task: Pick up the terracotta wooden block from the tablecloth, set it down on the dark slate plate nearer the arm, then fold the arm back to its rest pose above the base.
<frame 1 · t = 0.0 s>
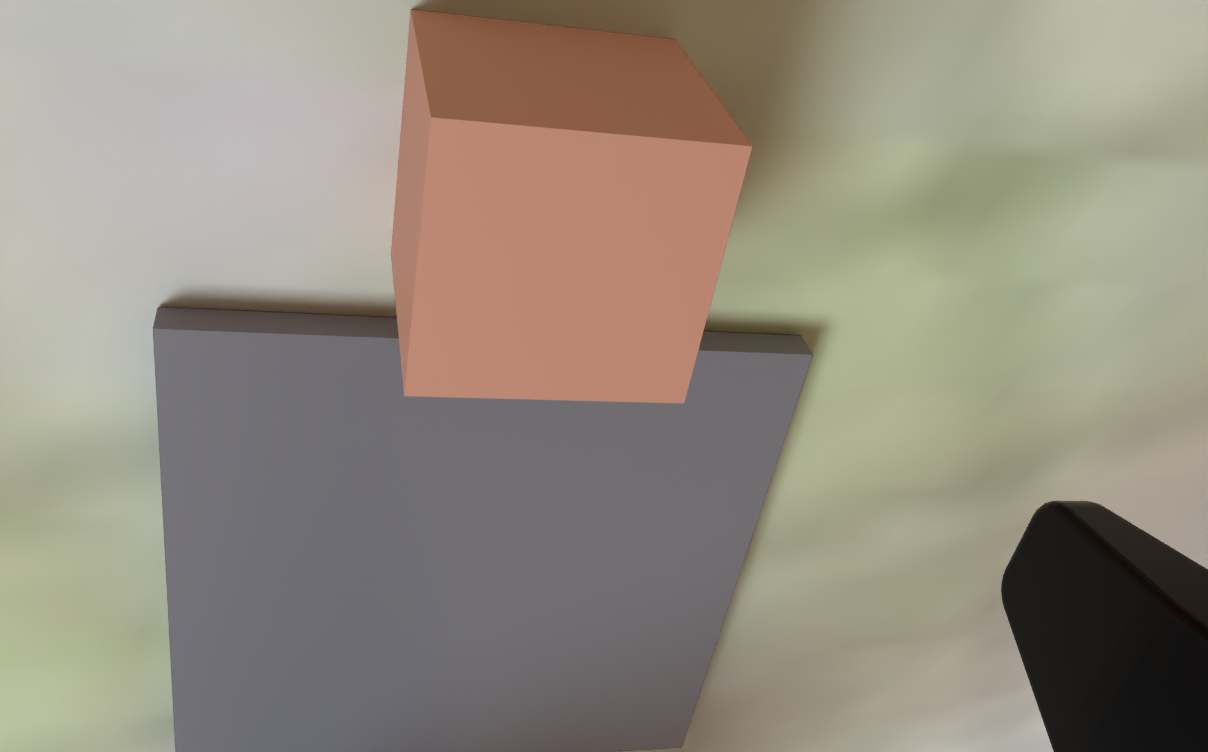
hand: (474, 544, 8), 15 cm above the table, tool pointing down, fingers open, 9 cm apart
terracotta block: (527, 148, 22), on the table
slate plate: (468, 558, 28), on the table
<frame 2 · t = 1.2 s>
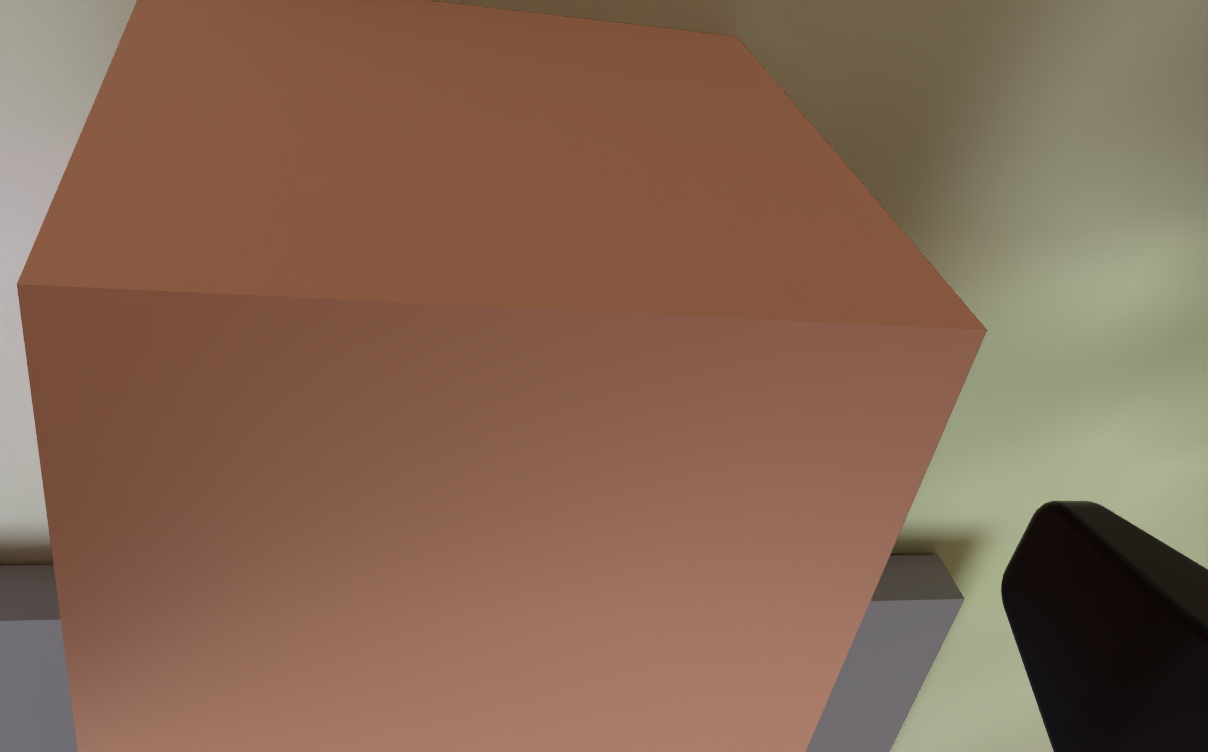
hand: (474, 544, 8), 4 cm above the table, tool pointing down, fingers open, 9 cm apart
terracotta block: (436, 255, 11), on the table
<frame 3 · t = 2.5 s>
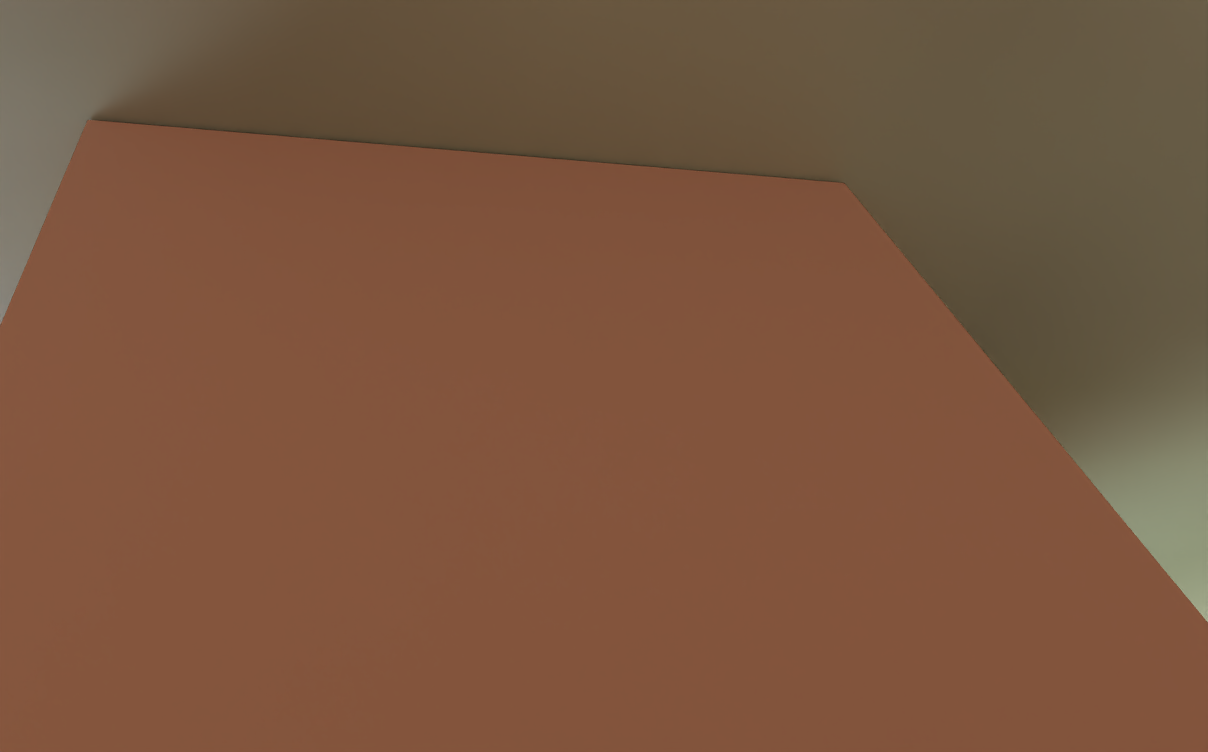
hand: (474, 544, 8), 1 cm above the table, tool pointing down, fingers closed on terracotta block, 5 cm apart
terracotta block: (459, 450, 9), on the table, touching gripper
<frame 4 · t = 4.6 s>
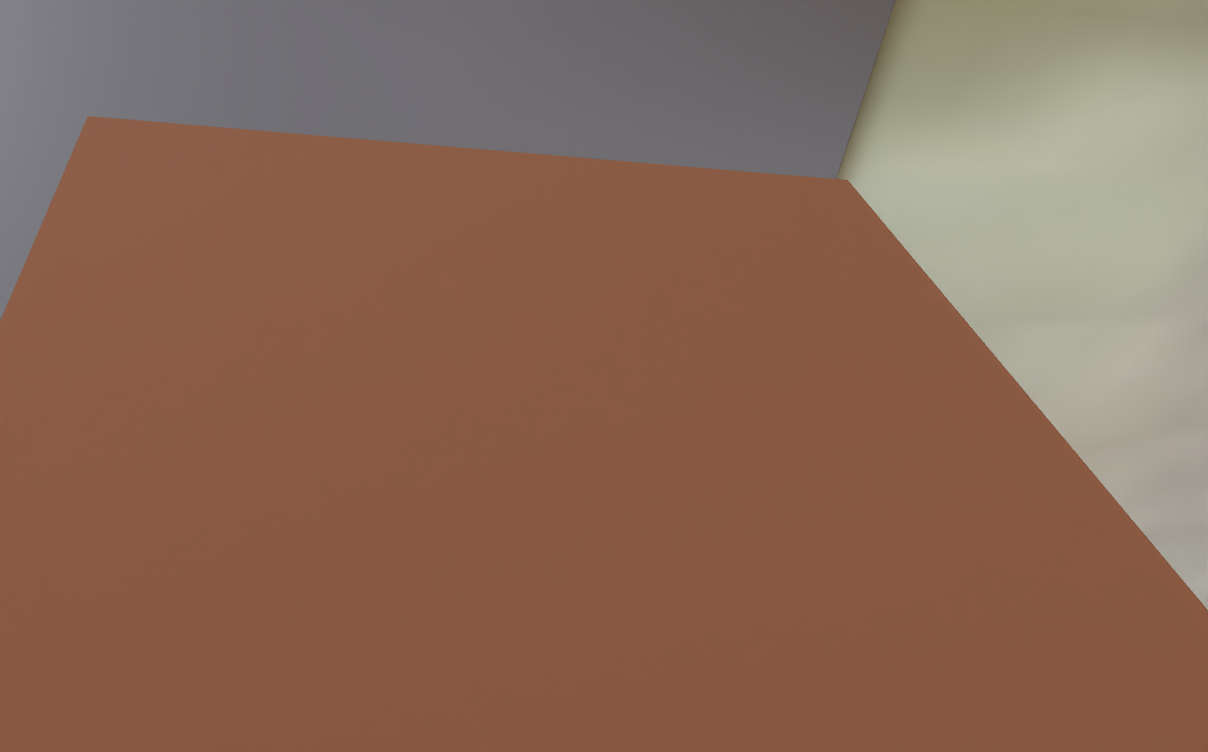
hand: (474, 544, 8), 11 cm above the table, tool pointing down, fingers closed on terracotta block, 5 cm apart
terracotta block: (461, 448, 9), point 10 cm above the table, touching gripper
slate plate: (404, 66, 17), on the table
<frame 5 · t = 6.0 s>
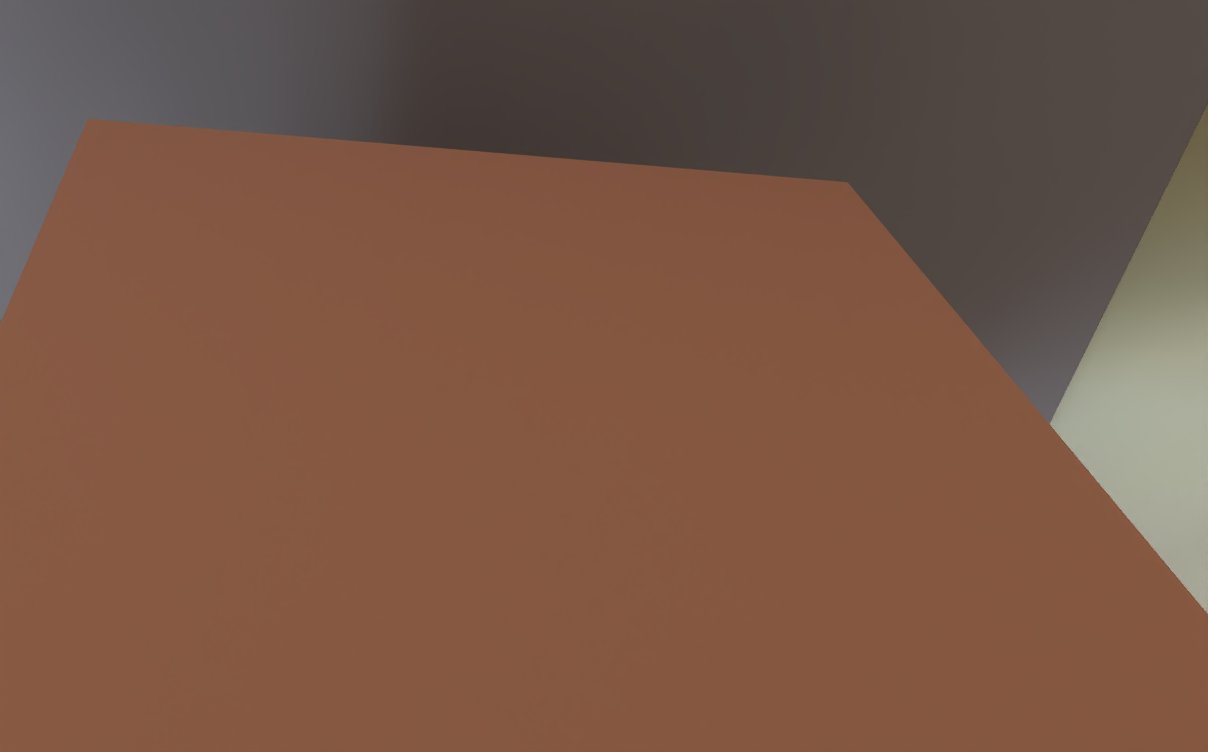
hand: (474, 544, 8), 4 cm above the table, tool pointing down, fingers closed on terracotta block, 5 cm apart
terracotta block: (460, 450, 9), point 3 cm above the table, touching gripper
slate plate: (436, 262, 11), on the table
when the fingers open (3 cm above the table, at t = 6.9 s): terracotta block drops 2 cm, resting on slate plate.
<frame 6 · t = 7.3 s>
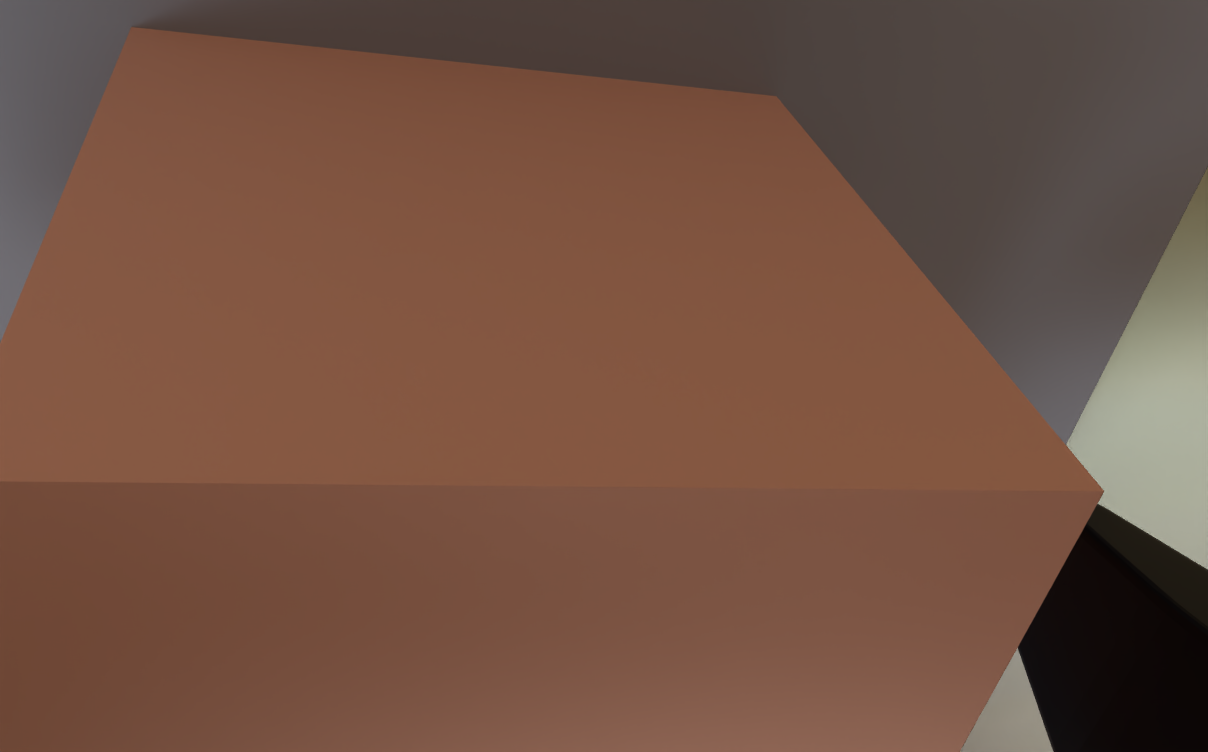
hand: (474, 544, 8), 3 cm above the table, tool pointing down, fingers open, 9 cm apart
terracotta block: (445, 334, 10), point 1 cm above the table, touching slate plate
slate plate: (438, 286, 11), on the table
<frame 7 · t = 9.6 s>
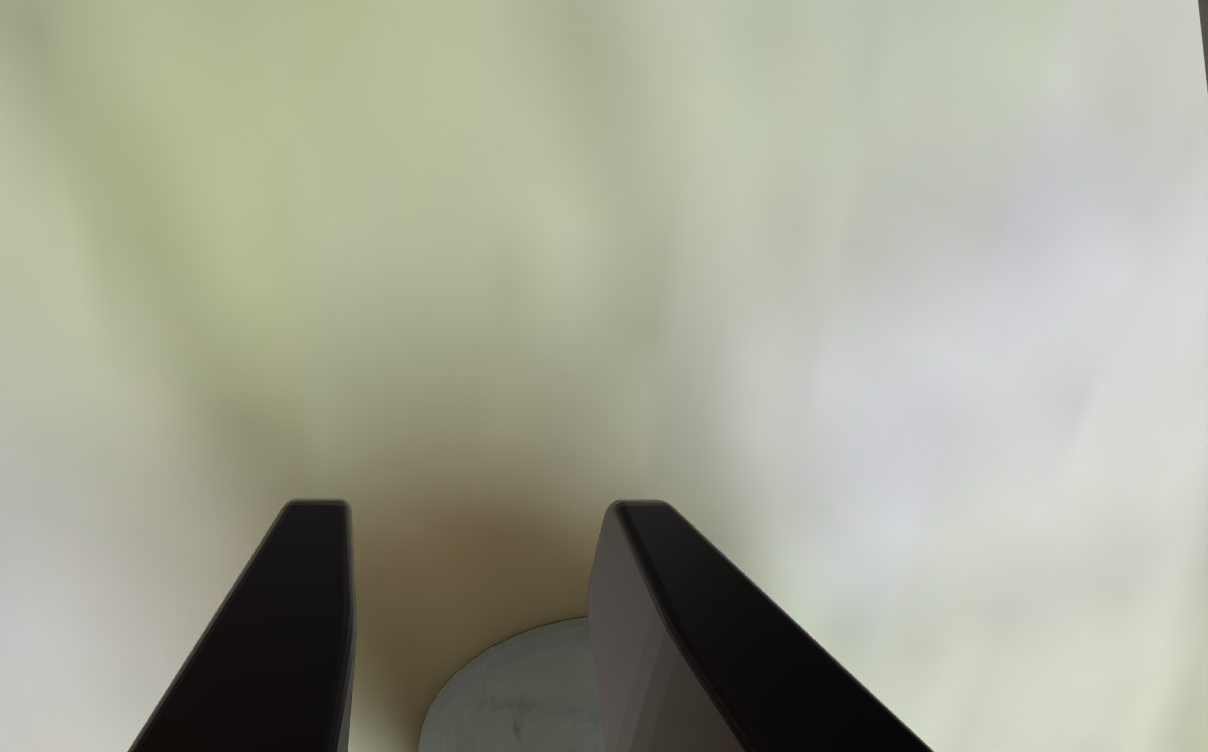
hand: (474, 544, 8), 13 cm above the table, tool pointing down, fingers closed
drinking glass: (566, 719, 30), on the table
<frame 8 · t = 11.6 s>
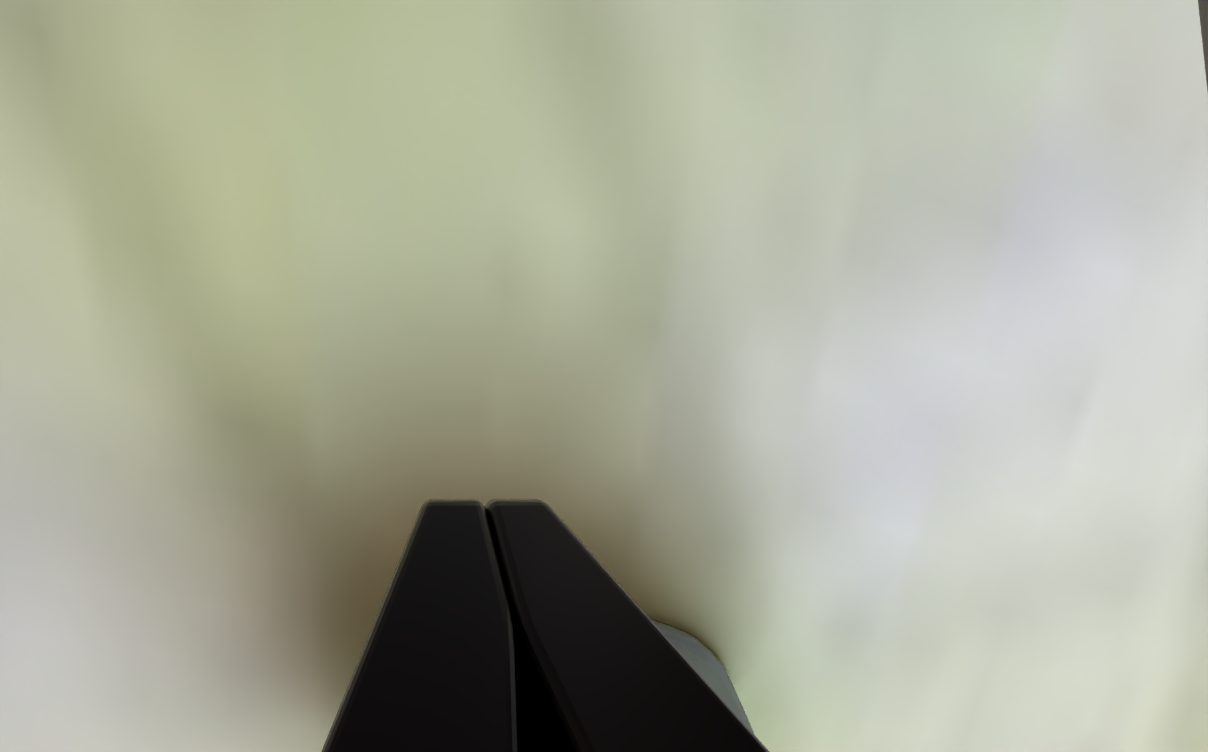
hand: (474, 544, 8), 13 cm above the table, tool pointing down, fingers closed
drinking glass: (566, 719, 30), on the table
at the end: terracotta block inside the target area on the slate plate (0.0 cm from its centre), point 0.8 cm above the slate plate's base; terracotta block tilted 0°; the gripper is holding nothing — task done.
